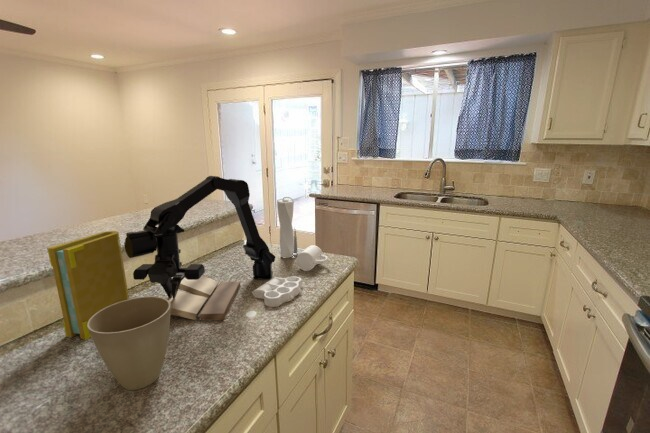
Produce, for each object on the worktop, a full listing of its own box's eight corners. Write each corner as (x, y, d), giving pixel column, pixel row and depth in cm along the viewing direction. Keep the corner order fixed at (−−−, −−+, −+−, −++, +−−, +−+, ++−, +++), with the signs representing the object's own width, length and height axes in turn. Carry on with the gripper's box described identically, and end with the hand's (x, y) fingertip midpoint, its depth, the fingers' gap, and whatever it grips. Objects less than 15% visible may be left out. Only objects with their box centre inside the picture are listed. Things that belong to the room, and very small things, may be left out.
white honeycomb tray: (277, 280, 120) (311, 288, 113) (246, 301, 104) (283, 311, 98) (277, 272, 119) (311, 279, 113) (245, 292, 103) (283, 301, 97)
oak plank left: (206, 303, 102) (207, 297, 101) (195, 319, 92) (196, 314, 92) (171, 294, 101) (173, 289, 100) (157, 311, 91) (158, 304, 90)
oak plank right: (216, 286, 113) (218, 281, 113) (208, 300, 104) (210, 294, 103) (187, 275, 112) (189, 270, 112) (175, 287, 102) (177, 282, 102)
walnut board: (240, 286, 114) (240, 281, 113) (224, 319, 92) (223, 313, 92) (219, 287, 114) (218, 281, 113) (197, 320, 92) (197, 314, 92)
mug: (296, 269, 129) (295, 251, 127) (306, 261, 138) (305, 244, 136) (323, 273, 125) (323, 254, 123) (331, 264, 134) (331, 247, 132)
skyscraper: (295, 259, 140) (294, 197, 134) (277, 259, 141) (275, 197, 134) (297, 253, 149) (296, 194, 142) (280, 252, 149) (278, 194, 143)
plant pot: (188, 354, 77) (181, 295, 73) (159, 403, 63) (149, 332, 59) (126, 356, 77) (116, 296, 73) (82, 405, 62) (67, 334, 58)
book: (86, 339, 83) (69, 249, 78) (65, 336, 85) (47, 248, 79) (136, 307, 99) (124, 231, 94) (118, 305, 101) (105, 230, 95)
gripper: (118, 258, 84) (125, 311, 87) (189, 258, 85) (194, 311, 88) (140, 245, 95) (146, 293, 98) (203, 245, 96) (206, 293, 99)
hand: (172, 297), depth 96 cm, fingers closed
